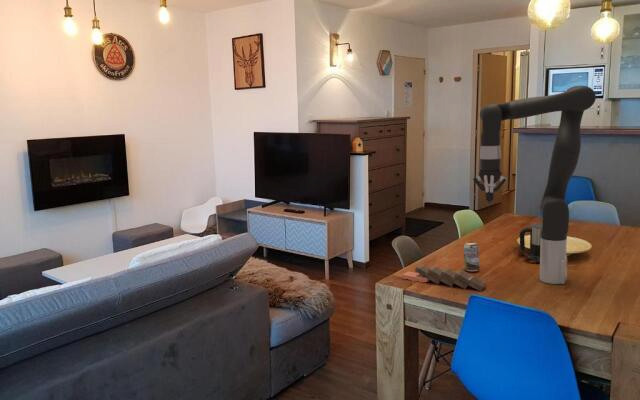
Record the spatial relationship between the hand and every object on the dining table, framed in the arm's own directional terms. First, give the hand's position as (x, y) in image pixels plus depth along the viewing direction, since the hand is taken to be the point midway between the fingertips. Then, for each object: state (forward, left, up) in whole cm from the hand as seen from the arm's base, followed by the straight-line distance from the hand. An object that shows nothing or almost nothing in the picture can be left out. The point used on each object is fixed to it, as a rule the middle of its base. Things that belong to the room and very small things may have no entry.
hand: (490, 201), depth 198 cm
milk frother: (-11, -38, -33) cm, 52 cm away
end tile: (+21, +10, -32) cm, 39 cm away
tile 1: (0, +11, -31) cm, 33 cm away
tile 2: (+5, +11, -31) cm, 34 cm away
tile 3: (+11, +11, -31) cm, 35 cm away
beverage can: (+10, -10, -33) cm, 36 cm away
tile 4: (+16, +10, -31) cm, 37 cm away
